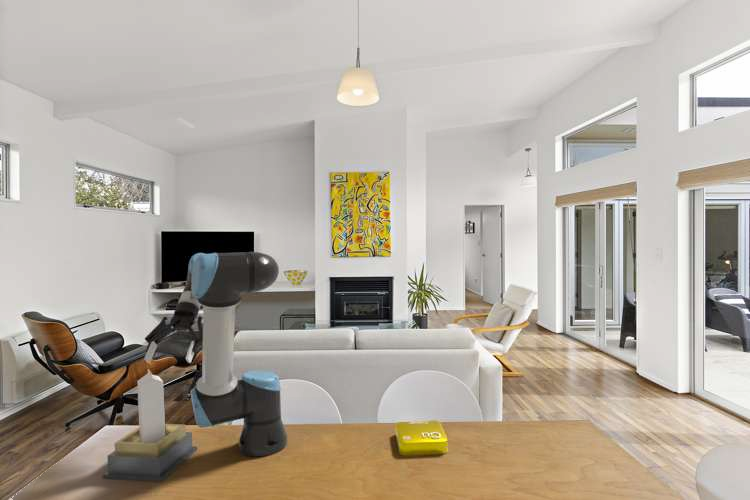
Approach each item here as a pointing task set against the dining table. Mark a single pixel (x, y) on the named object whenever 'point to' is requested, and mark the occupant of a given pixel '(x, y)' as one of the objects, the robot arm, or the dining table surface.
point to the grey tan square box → (150, 455)
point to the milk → (151, 408)
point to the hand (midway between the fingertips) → (167, 361)
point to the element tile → (421, 438)
